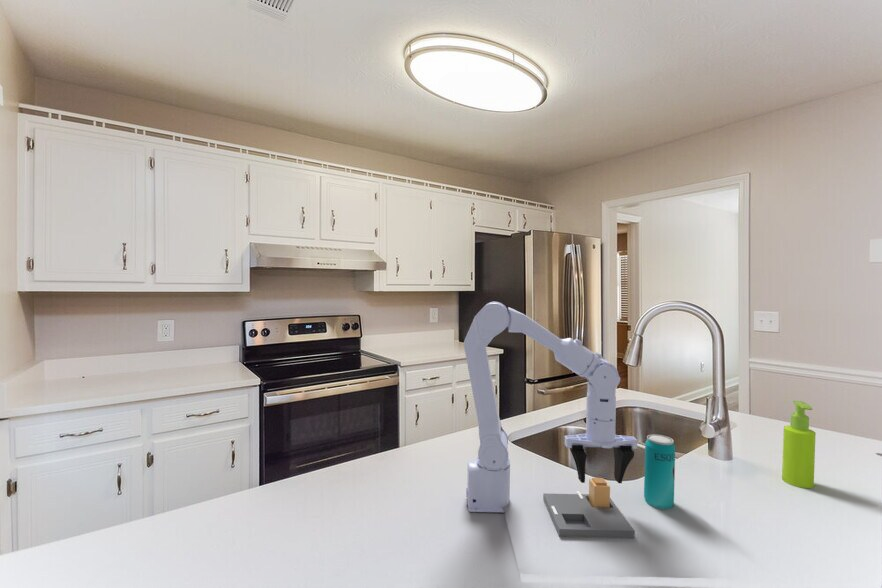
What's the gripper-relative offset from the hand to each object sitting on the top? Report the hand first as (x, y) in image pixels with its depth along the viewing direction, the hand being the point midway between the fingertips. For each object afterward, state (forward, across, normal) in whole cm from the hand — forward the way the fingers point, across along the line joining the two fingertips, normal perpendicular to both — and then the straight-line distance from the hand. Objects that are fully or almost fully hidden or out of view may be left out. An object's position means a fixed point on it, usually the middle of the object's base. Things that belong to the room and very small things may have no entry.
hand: (599, 480), depth 86 cm
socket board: (+7, -4, -4) cm, 9 cm away
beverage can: (+7, +14, +3) cm, 16 cm away
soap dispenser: (+7, +54, +15) cm, 56 cm away
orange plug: (+6, 0, 0) cm, 6 cm away
